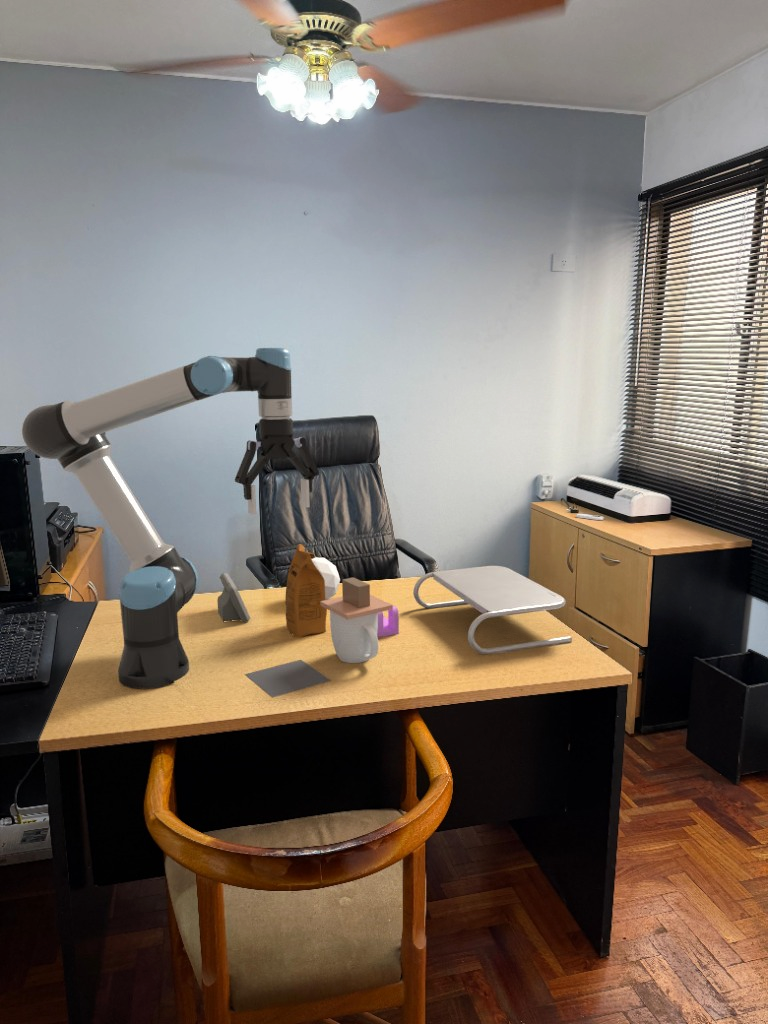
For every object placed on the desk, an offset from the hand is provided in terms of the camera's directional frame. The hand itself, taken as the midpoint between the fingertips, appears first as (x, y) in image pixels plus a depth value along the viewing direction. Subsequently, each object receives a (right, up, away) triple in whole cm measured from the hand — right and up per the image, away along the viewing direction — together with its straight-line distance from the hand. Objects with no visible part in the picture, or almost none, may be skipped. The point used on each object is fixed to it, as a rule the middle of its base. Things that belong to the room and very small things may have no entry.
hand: (279, 510), depth 167 cm
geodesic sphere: (+5, -27, +44) cm, 52 cm away
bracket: (+23, -31, +22) cm, 45 cm away
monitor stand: (+51, -31, +23) cm, 64 cm away
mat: (+3, -37, -9) cm, 38 cm away
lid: (+18, -22, -2) cm, 29 cm away
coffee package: (+4, -31, +21) cm, 38 cm away
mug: (+18, -35, +1) cm, 40 cm away
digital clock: (-17, -29, +33) cm, 47 cm away
